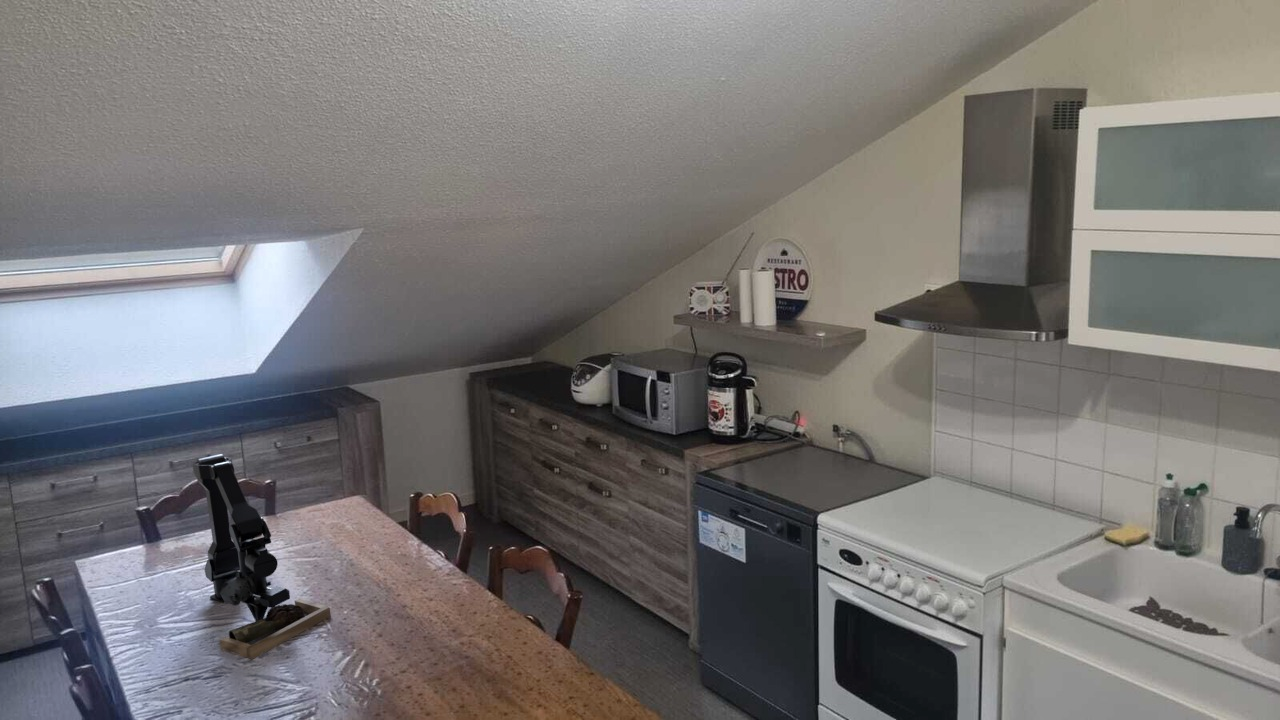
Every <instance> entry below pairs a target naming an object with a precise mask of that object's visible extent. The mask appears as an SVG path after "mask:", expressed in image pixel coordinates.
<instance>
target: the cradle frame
mask: <svg viewBox="0 0 1280 720" xmlns="http://www.w3.org/2000/svg"><path fill="white" fill-rule="evenodd" d="M294 605H299V606H300V607H301V608H302V609H303V610H304V611H303V613H304V614H305V613H306V614H308V615H306V616H305V617H304V618H302V619H300V620H298V621H296V622H294V623H292V624H291V625H289V626H287V627H285V628H283V629H281V630H278V631H275V632H273V633H271V634H269V635H268V636H266V637H264V638H262V639H261V640H259V641H257V642H255V643H253V644H249V643H244V642H241V641H238V640H234V639H231V638H229V636H223V637H221V638H219V644H220V646H219V647H220V649H221V650H224V651H226V652H230V653H232V654H236V655H238V656H241V657H245V658H248V659H251V660H253V659H255V658H257V657H259V656H260V655H262V654H264V653H266V652H268V651H269V650H271V649H274V648H275V647H277V646H279V645H280V644H283V643H284V642H286V641H288V640H290V639H292V638H293V637H295V636H297V635H298V634H300V633H302V632H304V631H306V630H308V629H310V628H312V627H313V626H315V625H317V624H319V623H321V622H322V621H324V620H326V619H328V618H330V617H331V614H332V613H331V608H330V606H328V605H326V604H325V605H324V604H321V603H316V602H313V601H309V600H305V599H302V598H298V599H296V600H294Z"/></svg>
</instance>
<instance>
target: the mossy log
mask: <svg viewBox="0 0 1280 720" xmlns="http://www.w3.org/2000/svg"><path fill="white" fill-rule="evenodd" d="M303 611H304V610H303V609H302V608H301V607H300V606H299V605H295V604H293V603H291V604H290V603H289V604H286V603H284V604H282V605H280V604H278V605H276V606H274V607H270V608H269V610H268V611H267V613H266V614H265V615H266V617H264V618H263V619H261V620H258V621H253V622H250V623H248V624H245V625H242V626H239V627H237V628H233V629H231V630H229V632H228V638H231V639H234V640H238V641H241V642H244V643H247V644H249V643H252V642H254V641H257V640H259V639H260V638H263V637H265V636H267V635H268V636H269V635H271V634H273V633H276V632H277V631H279V630H281V629H283V628H285V627H287V626H289V625H291V624H292V623H294V622H296V621H298V620H300V619H302V618H304V617H306V616H305V612H303Z"/></svg>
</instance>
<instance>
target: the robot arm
mask: <svg viewBox="0 0 1280 720" xmlns="http://www.w3.org/2000/svg"><path fill="white" fill-rule="evenodd" d="M234 468H235V467H234V464H233V459H232V458H231V457H229V456H226V457H225V456H224V454H223V453H220V454H215V455H209V456H205V457H200V458H197V459H196V461H195V462H194V464H192V469H193V474H194V476H195V477H196V480H197V482H198V483H199V484H200V485H201V486H202V487H203V488H204V490H205V495H206V497H205V498H206V505H207V510H208V517H209V524H210V530H211V531H210V533H211V538H212V543H210V546H209V548H208V550H207V560H206V563H205V567H204V574H205V578H206V579H207V580H209V582H212V583H213V589H214V590H213V591H214V594H212V595H210V596H209V599H211V600H213V601H217V602H222V603H225V604H228V605H229V604H230V605H232V606H234V607H235V606H238V605H240V604H241V603H244V604H245V605H246V606H247V607H248V610H249V611H250V613H251V615H252V616H253V618H254V620H255V621H254V622H256V621H258V620H261V619H264V618H265V615H266V614H267V613H266V612H267V610H268V608H269V609H271V607H274V606H278V605H280V604H282V603H284V602H286V601H288V600H290V599H291V594H290V593H291V592H290V590H289V589H287V588H286V587H283V586H282V587H281V586H278V585H276V586H274V587H272V588H271V587H270V586H271V585H272V582H271V580H267V578H268V577H270V576H271V575H273V574H275V573H274V572H276V570H277V568H278V560H277V557H276V556H274V554H272V553H271V552H270V551H269V550H268V548H267V546H266V545H268V544H271V543H272V540H271V537H272V533H271V531H270V529H269V527H268V524H267V522H266V521H265V519H264V517H262V516H261V515H260V514H259V512H258V510H257V508H255V507H253V506H252V505H249V503H248V501H247V499H246V496H245V494H244V492H243V489H242V488H241V486H240V483H239V481H238V478H237V476H236V474H235V469H234ZM229 516H230V517H229ZM262 535H263V537H262Z"/></svg>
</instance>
